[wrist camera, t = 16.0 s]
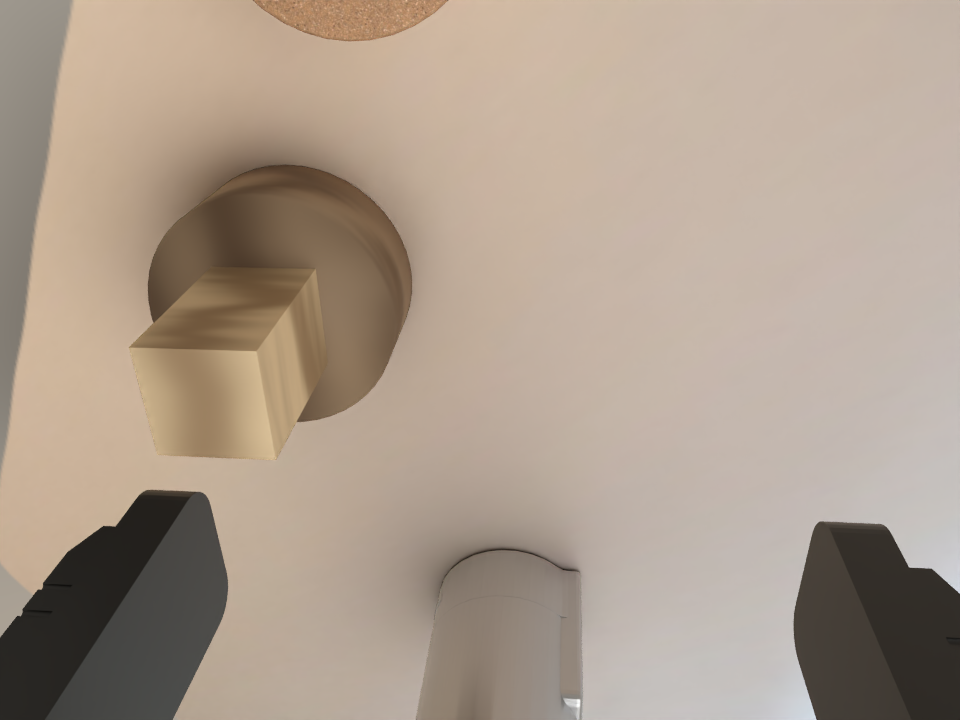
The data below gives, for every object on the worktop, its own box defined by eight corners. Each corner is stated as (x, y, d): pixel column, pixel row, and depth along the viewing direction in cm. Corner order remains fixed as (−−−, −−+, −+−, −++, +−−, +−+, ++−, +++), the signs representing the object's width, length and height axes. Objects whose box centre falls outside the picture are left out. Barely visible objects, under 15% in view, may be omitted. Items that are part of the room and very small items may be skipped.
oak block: (315, 268, 37) (256, 351, 30) (327, 363, 39) (275, 459, 32) (211, 266, 37) (128, 347, 30) (229, 360, 39) (157, 454, 33)
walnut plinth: (403, 165, 39) (383, 196, 35) (418, 376, 45) (402, 426, 40) (169, 164, 40) (121, 194, 36) (213, 370, 46) (176, 418, 42)
